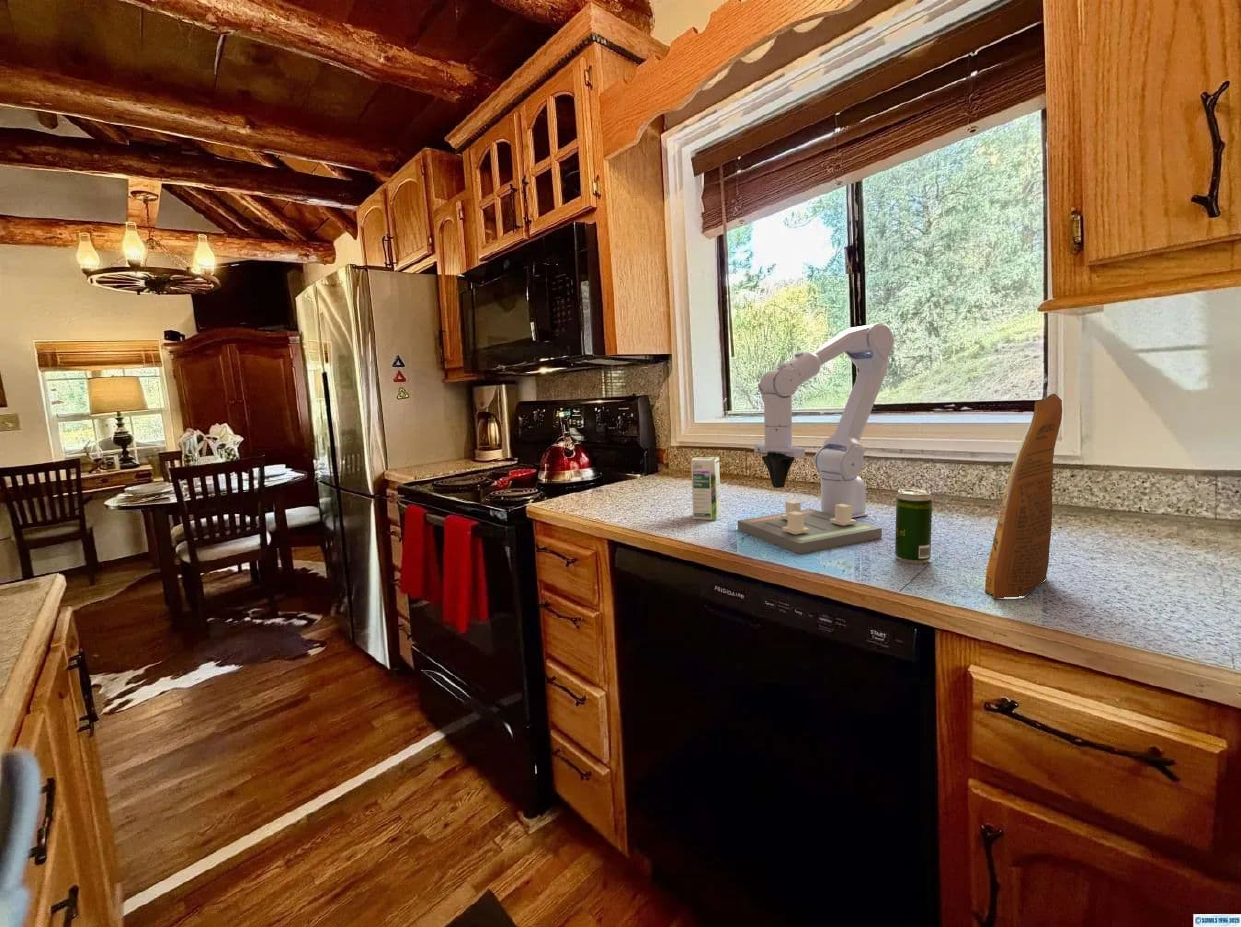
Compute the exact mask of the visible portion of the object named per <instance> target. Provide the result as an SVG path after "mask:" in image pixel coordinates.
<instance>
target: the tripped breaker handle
mask: <svg viewBox="0 0 1241 927" xmlns="http://www.w3.org/2000/svg"><path fill="white" fill-rule="evenodd" d="M801 505H802V504H801V501H796V500H793V499H792V500H787V501H785V513H786V514H784V515H781V518H783V519H786V520H787V513H788V512H794V511H796V512H800V513H801V510H802V509H801V507H802V506H801ZM804 519H806V516H804Z"/></svg>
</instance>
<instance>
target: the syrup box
mask: <svg viewBox="0 0 1241 927" xmlns="http://www.w3.org/2000/svg"><path fill="white" fill-rule="evenodd" d="M690 465H691V468H690V469H691V471H690V472H691V489H692V490H691V494H692V519H693V520H704V521H716V520H718V518H719V517H720V516H721V481H720V480H721V478H720V475H721V474H720V471H721V470H720V456H719V457H718V456H714V457H713V456H711V457H709V456H708V457H707V456H706V457H705V456H704V457H703V456H701V457H700V456H696V457H693V458H692V459H691V462H690Z"/></svg>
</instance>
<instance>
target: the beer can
mask: <svg viewBox="0 0 1241 927" xmlns="http://www.w3.org/2000/svg"><path fill="white" fill-rule="evenodd" d="M931 494H932V492H931V491H930V490H926V489H918V488H903V489H899V490H898V491H897V495H896V502H895V503H896V504H895V537H894V538H895V539H894V540H895V543H894V544H895V545H894V556H895V557H896V559H897V561H899V560H900V561H899V562H901V561H902V563H904V562H905V564H909V563H911V564H910V565H924V564H923V563H925V564H928V563H929V561H930V559H931V553H932V549H931V548H932V525H933V524H932V523H933V522H932V521H933V520H932V519H933V497H932V495H931ZM927 562H928V563H927Z"/></svg>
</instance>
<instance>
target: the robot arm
mask: <svg viewBox="0 0 1241 927" xmlns="http://www.w3.org/2000/svg"><path fill="white" fill-rule="evenodd" d="M894 343H895V337H894V335H893V332H892V330H891V327H890V326H889V325H888V324H887V323H885V322H876V323H873V324H868V325H860V326H851V327H848V328H846V329H845V330H843V331H840V332H839V333H838V334H837V335H836V336H834V337H833V338H831V339H830V340H828V341H827V342H825V343H824V344H823V345H821V346H819V348H817V349H816V350H814V351H813V352H810V351H797V352H796V353H794V357H793V358H791V359H790V360H788V361H786V362H781V363H780V364H778V365H777V369H776V370H775V369H774V370H768V371H766V372H764V373H763V375H762V377H761V378H760V382H759V383H758V384H757V388H758V391H759V393H760V394H761V396H762V402H763V406H764V408H763V412H764V413H763V414H764V416H763V418H764V425H763V426H764V442H756V443H754V445H753V446H754V449H753V450H754V451H753V452H755V453H763V454H764V453H765V454H766V455H763V456H761V458H762V459H761V460H762V461H763V464H764V465H765V467H766V469H767V471H768V474H769V477H770V482H771V484H772V488H773V489H774V488H775V489H781V488H785V486H786V481H787V477H788V474H789V470H790V468H791V466H792V464H793V463H794V461H795V459H802V458H803V459H804V458H805V457H806V448H804V447H800V446H796V445H793V425H792V424H793V423H792V422H793V421H792V420H793V417H792V416H793V413H792V408H793V407H792V406H793V405H792V404H793V403H792V402H793V400H792V398H793V395H794V394H796V392H797V390H798V387H799V386H801V385H802V384H804V383H806V382H807V381H809V380H810V379H812V378H814V377H815V376H816V375H818V374H819V373H820V370H821V366H822V365H824V364H826V363H828V362H829V361H831V360H833V359H835V358H836V357H838V356H840V355H843V354H844V353H845V355H846V356H847V357H848V358H849V359H850V360H851V363H853V364H854V366H855V367H857V369H858V374H857V377H856V379H855V382H854V383H853V387H852V389H851V391H850V393H849V394H850V395H849V396H848V399H847V402H846V403H845V407H844V410H843V411H842V414H841V417H840V420H839V422H838V424H837V427H836V429H835V433H833V434H832V435H830V436H829V437H828V438H826V439H825V440H824V441H823V443H822V446H821V447H820V448H819V449H818V450H817V451H816V453H815V455H814V459H813V463H814V467H815V469H816V471H817V472H819V477H821V478H820V510H819V511H821V512H825V513H829V514H832V515H835V505H838V504H846V505H850V506H852V514H851V519H853V518H857V517H858V518H859V517H864V516H865V517H866V516H868V515H869V512H866V505H867V504H866V501H867V500H866V498H867V496H866V494H867V489H866V484H865V482H864V480H863V479H862V478H861V477H860V476H859V475H860V473H861V472H862V470H863V466H864V456H865V454H866V453H865V452H866V448H865V447H864V446H863V445H862V443H861V441H860V440H861V438H862V435H863V432H864V429H865V428H866V424H867V421H868V420H869V417H870V415H871V412H872V410H873V407H874V404H875V402H876V400H877V396H878V394H879V392H880V389H881V387H882V384H883V381H884V379H885V377H886V375H887V371H888V368H889V367H888V366H889V357H890V354H891V352H892V349H893V346H894Z"/></svg>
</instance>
